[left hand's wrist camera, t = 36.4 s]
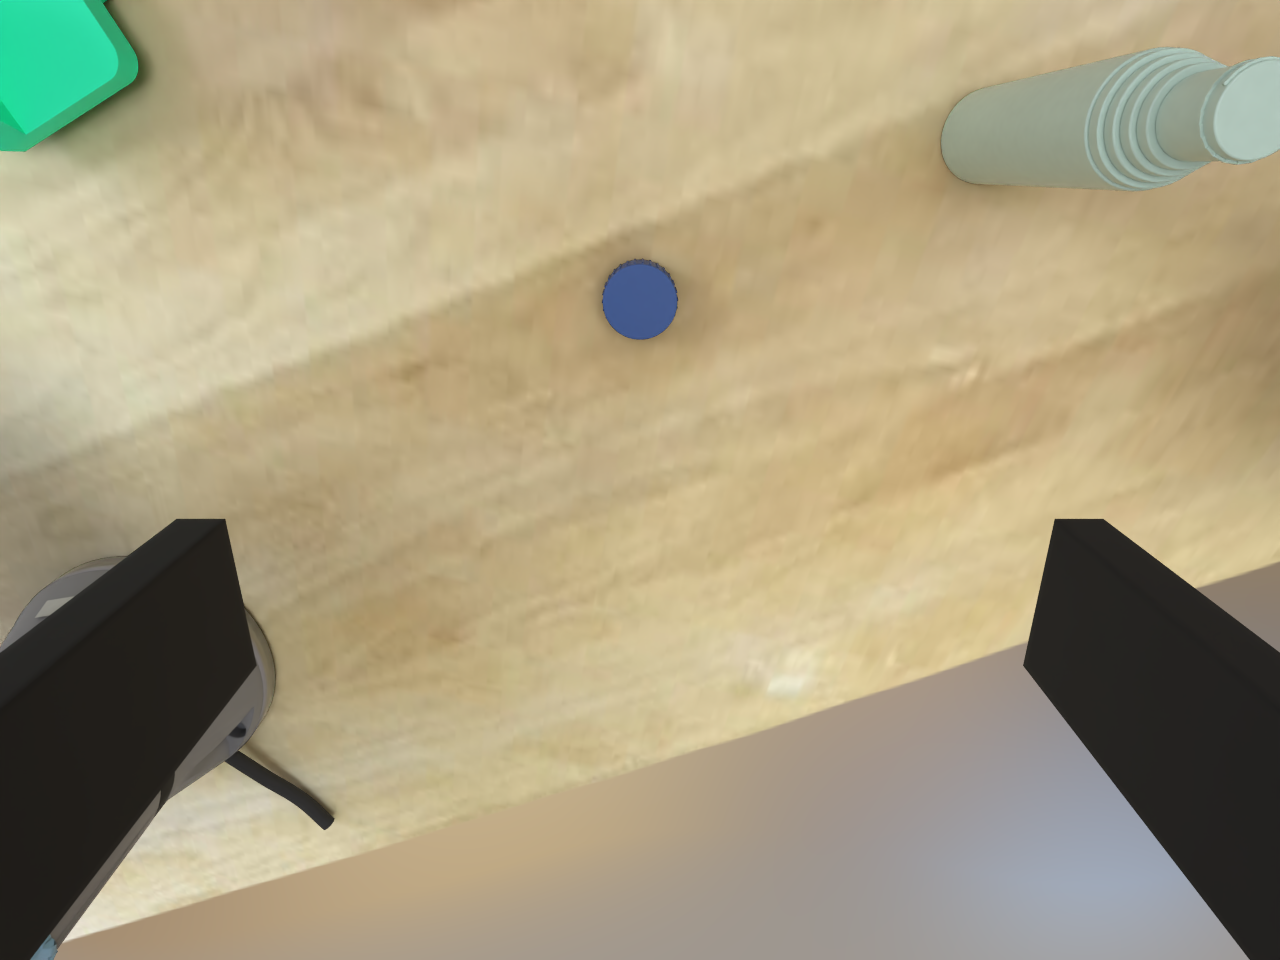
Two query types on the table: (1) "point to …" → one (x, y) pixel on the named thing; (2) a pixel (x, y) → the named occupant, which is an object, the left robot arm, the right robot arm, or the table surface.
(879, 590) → the table surface
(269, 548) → the table surface
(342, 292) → the table surface
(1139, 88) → the bottle
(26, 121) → the camera mount
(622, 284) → the cap
